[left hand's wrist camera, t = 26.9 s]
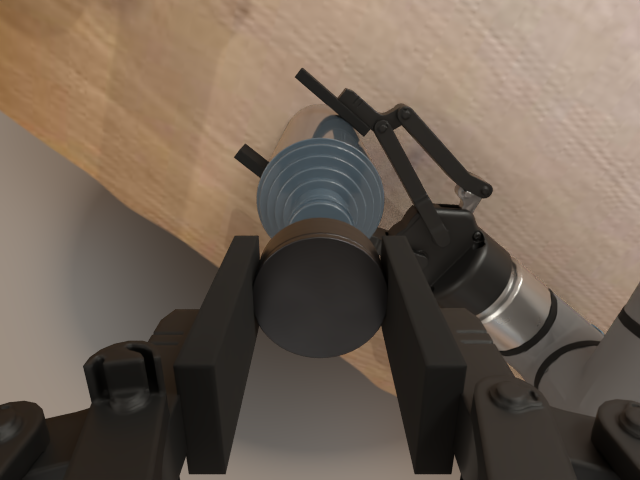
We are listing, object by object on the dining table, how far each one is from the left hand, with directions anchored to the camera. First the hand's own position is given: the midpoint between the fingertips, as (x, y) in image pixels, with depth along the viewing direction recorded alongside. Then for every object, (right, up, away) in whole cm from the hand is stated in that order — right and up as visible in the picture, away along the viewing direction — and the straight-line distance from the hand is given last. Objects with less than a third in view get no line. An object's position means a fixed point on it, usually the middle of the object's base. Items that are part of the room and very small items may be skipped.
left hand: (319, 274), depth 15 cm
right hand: (-4, +11, +19) cm, 22 cm away
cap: (0, -1, -1) cm, 1 cm away
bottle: (0, +10, +26) cm, 28 cm away
